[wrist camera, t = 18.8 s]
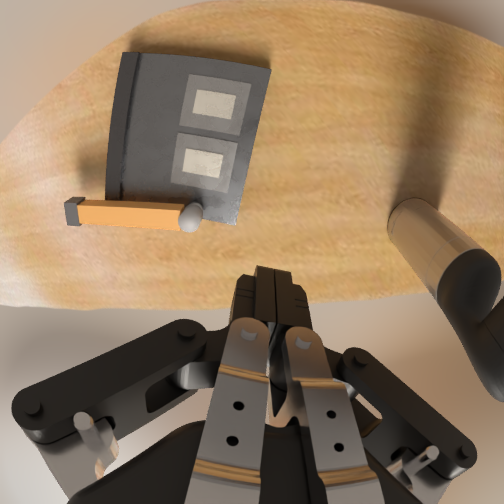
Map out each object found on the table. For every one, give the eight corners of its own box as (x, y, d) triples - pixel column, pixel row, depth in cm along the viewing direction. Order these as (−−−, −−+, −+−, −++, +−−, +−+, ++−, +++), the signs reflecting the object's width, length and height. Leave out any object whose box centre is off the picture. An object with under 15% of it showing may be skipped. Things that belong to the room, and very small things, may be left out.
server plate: (270, 71, 34) (271, 68, 31) (236, 218, 45) (234, 229, 41) (132, 55, 33) (121, 52, 29) (114, 195, 43) (103, 203, 40)
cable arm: (73, 196, 39) (63, 203, 36) (203, 202, 39) (199, 209, 37) (76, 218, 41) (66, 225, 38) (203, 226, 41) (199, 235, 38)
